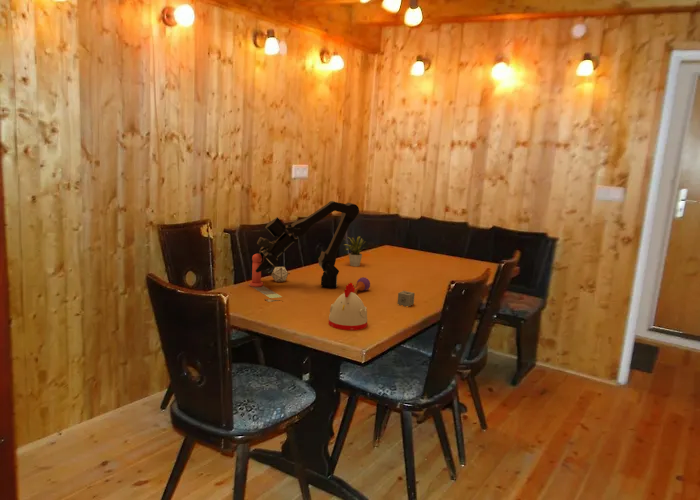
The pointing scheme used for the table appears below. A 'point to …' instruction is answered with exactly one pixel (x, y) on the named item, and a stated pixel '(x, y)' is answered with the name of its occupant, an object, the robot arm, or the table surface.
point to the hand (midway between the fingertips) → (254, 269)
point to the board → (271, 295)
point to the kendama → (362, 284)
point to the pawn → (256, 275)
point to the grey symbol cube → (406, 298)
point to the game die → (279, 274)
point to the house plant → (355, 252)
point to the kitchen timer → (348, 311)
